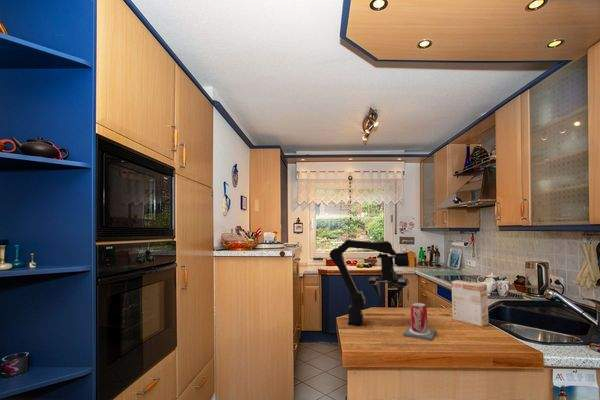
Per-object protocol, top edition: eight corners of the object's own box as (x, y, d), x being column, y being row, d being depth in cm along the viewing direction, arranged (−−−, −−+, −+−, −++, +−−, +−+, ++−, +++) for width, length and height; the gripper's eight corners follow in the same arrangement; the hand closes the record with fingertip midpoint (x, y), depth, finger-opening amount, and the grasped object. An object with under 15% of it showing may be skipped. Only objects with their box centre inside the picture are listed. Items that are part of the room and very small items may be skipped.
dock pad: (403, 335, 150) (403, 332, 150) (409, 328, 160) (409, 325, 161) (431, 340, 144) (431, 337, 144) (436, 332, 154) (436, 329, 154)
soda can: (430, 333, 149) (429, 305, 150) (416, 334, 148) (415, 306, 149) (422, 328, 156) (421, 301, 157) (408, 329, 155) (407, 302, 155)
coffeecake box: (489, 324, 165) (487, 283, 166) (481, 327, 161) (479, 285, 162) (459, 316, 177) (458, 279, 178) (452, 319, 173) (450, 281, 174)
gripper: (410, 265, 168) (412, 296, 167) (373, 264, 177) (375, 294, 176) (405, 268, 158) (407, 301, 158) (367, 267, 168) (368, 298, 167)
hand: (389, 298), depth 165 cm, fingers open, 9 cm apart
